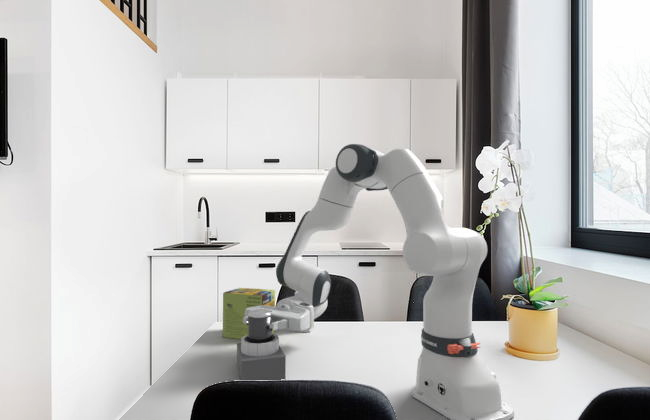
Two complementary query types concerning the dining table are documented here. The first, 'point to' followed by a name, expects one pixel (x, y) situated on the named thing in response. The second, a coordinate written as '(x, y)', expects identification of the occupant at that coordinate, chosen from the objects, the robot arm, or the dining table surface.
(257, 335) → the dark grey metallic cylinder
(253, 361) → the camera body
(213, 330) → the dining table surface
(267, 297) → the protein box
